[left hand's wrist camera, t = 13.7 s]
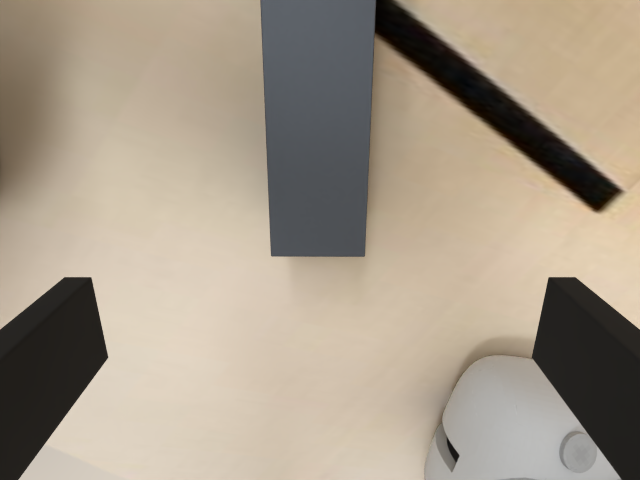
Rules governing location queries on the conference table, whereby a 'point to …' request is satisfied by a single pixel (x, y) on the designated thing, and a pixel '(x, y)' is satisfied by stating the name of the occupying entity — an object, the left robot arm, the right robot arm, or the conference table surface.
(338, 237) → the bar
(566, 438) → the projector
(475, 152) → the conference table surface
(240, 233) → the conference table surface
